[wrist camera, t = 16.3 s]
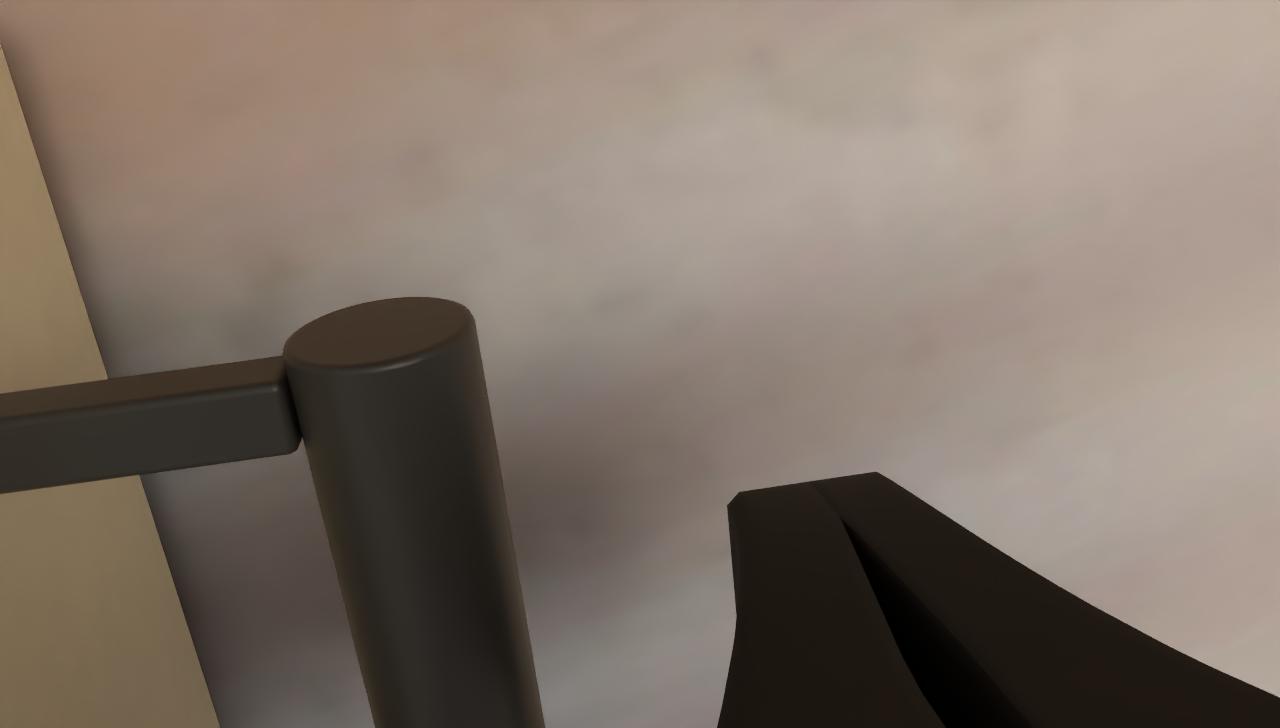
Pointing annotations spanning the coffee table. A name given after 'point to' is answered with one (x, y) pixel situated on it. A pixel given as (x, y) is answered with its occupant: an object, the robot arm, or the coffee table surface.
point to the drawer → (228, 432)
